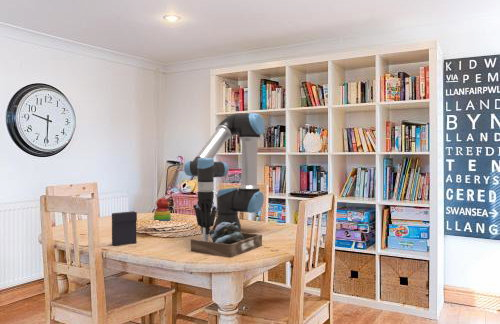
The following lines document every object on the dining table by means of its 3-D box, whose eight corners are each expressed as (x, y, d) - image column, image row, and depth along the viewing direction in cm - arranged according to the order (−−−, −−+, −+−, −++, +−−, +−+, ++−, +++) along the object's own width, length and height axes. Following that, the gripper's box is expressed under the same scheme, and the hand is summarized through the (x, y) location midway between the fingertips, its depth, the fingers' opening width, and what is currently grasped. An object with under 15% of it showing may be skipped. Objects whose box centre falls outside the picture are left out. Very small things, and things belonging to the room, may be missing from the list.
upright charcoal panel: (133, 241, 213) (133, 211, 213) (137, 243, 210) (136, 212, 209) (111, 244, 206) (111, 212, 206) (114, 246, 203) (114, 214, 203)
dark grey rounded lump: (212, 251, 193) (204, 221, 198) (216, 256, 204) (208, 228, 209) (245, 241, 193) (236, 212, 198) (247, 246, 204) (238, 218, 210)
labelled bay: (224, 240, 216) (224, 230, 216) (262, 245, 205) (262, 234, 205) (190, 251, 194) (190, 239, 194) (231, 257, 183) (231, 245, 183)
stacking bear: (167, 231, 240) (167, 199, 239) (150, 231, 242) (150, 198, 241) (175, 228, 250) (175, 197, 250) (158, 227, 252) (158, 196, 252)
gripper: (189, 190, 205) (189, 241, 206) (212, 192, 199) (212, 244, 199) (199, 189, 212) (199, 238, 212) (221, 190, 205) (221, 241, 206)
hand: (205, 241), depth 206 cm, fingers closed
